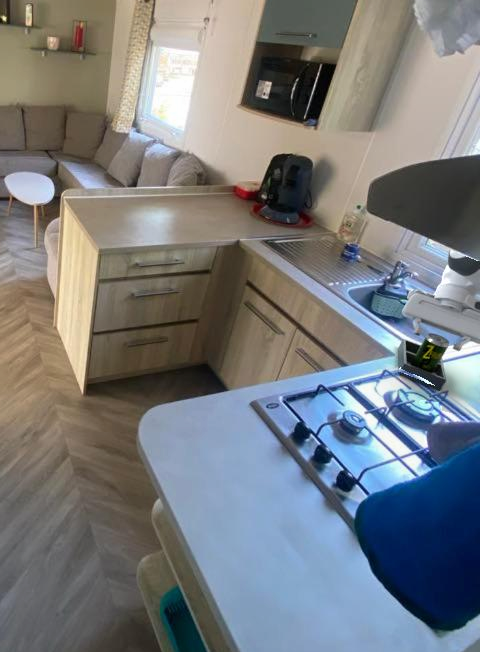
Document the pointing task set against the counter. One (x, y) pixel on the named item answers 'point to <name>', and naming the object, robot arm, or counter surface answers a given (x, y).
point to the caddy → (405, 358)
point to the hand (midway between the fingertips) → (436, 341)
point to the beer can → (430, 352)
